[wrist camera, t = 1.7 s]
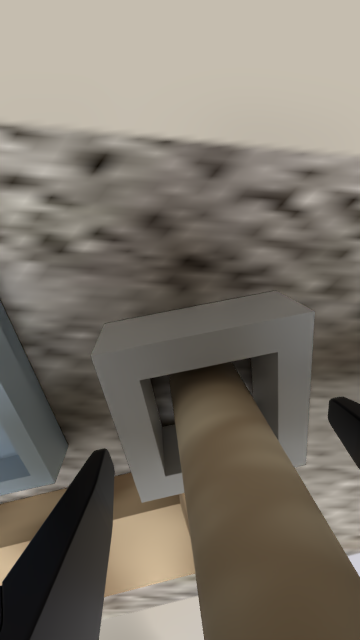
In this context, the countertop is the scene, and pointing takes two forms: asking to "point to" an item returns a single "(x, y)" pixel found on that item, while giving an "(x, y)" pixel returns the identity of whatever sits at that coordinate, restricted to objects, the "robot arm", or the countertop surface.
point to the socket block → (196, 352)
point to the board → (113, 535)
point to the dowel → (255, 522)
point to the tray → (25, 421)
